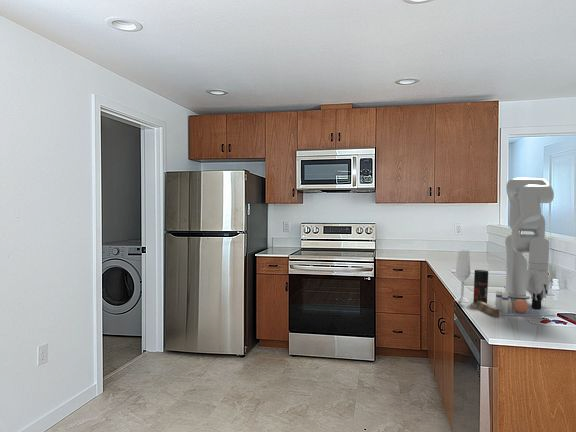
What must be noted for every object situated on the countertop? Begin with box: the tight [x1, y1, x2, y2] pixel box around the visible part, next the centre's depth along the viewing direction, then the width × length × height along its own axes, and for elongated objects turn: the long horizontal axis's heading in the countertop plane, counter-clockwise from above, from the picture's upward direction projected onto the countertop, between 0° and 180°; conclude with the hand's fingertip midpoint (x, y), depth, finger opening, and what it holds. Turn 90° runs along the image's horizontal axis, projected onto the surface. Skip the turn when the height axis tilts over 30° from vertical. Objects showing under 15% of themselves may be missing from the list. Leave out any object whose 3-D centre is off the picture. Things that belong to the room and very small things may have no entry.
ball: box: [512, 298, 530, 313], centre depth 193 cm, size 6×6×6 cm
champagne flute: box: [454, 249, 471, 303], centre depth 216 cm, size 7×7×24 cm
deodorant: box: [472, 269, 489, 304], centre depth 212 cm, size 6×6×15 cm
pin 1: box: [495, 290, 503, 311], centre depth 197 cm, size 2×2×8 cm
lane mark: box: [499, 308, 556, 317], centre depth 195 cm, size 11×25×1 cm, turn 92°
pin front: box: [502, 291, 514, 312], centre depth 194 cm, size 2×2×8 cm
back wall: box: [475, 301, 500, 318], centre depth 194 cm, size 16×2×3 cm, turn 3°
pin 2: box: [501, 293, 508, 314], centre depth 192 cm, size 2×2×8 cm
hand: (536, 309), depth 195 cm, fingers closed
